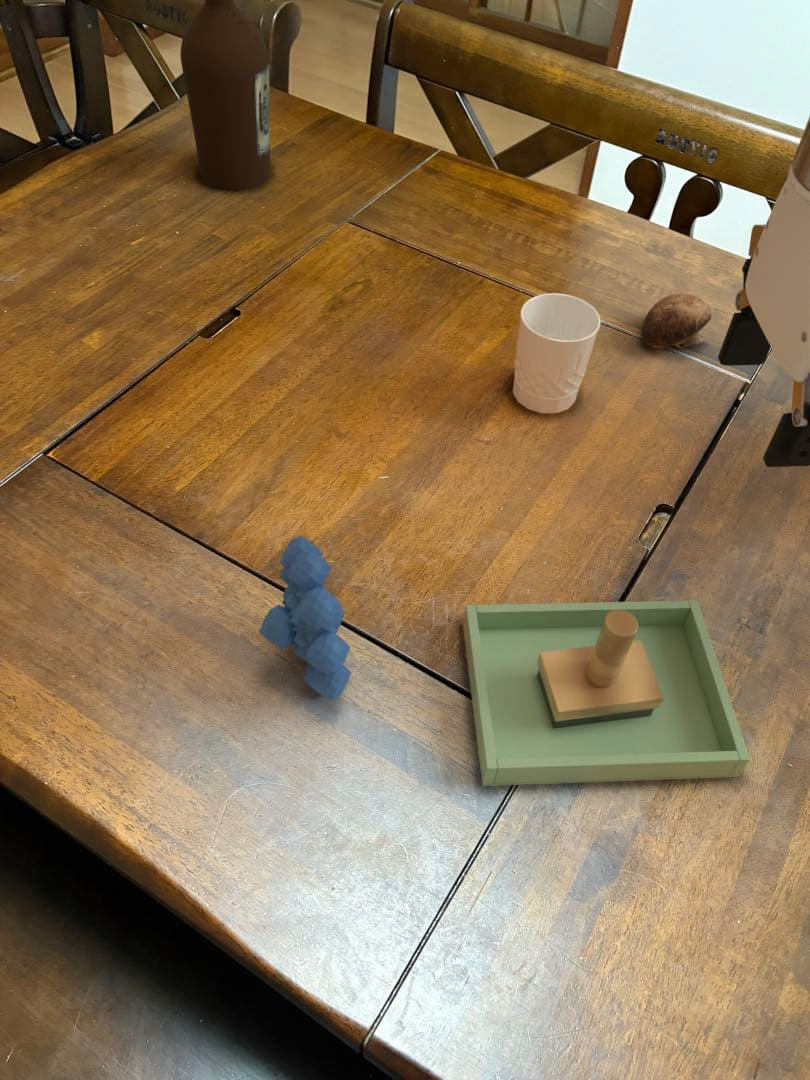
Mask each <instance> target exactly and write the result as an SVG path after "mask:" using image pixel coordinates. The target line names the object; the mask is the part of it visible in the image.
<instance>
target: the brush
mask: <svg viewBox="0 0 810 1080" xmlns="http://www.w3.org/2000/svg"><path fill="white" fill-rule="evenodd" d="M637 630H638V622H637V620H636V618H635V617H634V616H633V615H632V614H631V613H629V612H627V611H624V610H613V611H611V612H609V613H608V614H607V615H606V617H605V620H604V623H603V625H602V628H601V631H600V633H599V636H598V639H597V641H596V644H595V646H589V647H581V648H572V649H564V650H556V651H547V652H540V654H539V658H538V661H537V664H538V667H539V670H538V673H537V676H538V679H539V682H540V686H541V689H542V692H543V695H544V699H545V702H546V705H547V709H548V712H549V715H550V718H551V722H552V725H553V728H562V727H569V726H577V725H585V724H592V723H600V722H607V721H615V720H622V719H630V718H637V717H645V716H651V714H652V712H653V710H654V709H655V708H659V707H660V705H661V703H662V701H663V699H664V698H663V695H662V693H661V690H660V688H659V685H658V683H657V680H656V678H655V675H654V673H653V670H652V668H651V665H650V663H649V660H648V658H647V655H646V653H645V650H644V648H643V645H642V643H641V641H633V640H634V637H635V635H636V633H637Z"/></svg>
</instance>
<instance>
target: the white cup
mask: <svg viewBox="0 0 810 1080" xmlns="http://www.w3.org/2000/svg"><path fill="white" fill-rule="evenodd" d="M600 328H601V317H600V314H599V312H598V311H597V310H596V309H595V307H593V306H592V305H591V304H590V303H589V302H587V301H586V300H584V299H581V298H579V297H578V296H573V295H571V294H565V293H555V292H550V293H542V294H538V295H535V296H533V297H531V298H529V299H528V300H527V301H525V302H524V303H523V305H522V307H521V308H520V313H519V322H518V331H517V339H516V348H515V354H514V355H515V356H514V367H513V369H514V378H513V386H512V394H513V396H514V397H515V399H516V401H517V403H519V404H520V405H522V406H523V407H524V408H526V409H527V410H530V411H532V412H536V413H540V414H558V413H561V412H565V411H567V410H569V409H570V408H571V407H572V406H573V405H574V403H575V402H576V400H577V396H578V393H579V390H580V386H581V384H582V382H583V380H584V377H585V374H586V370H587V368H588V365H589V363H590V360H591V356H592V353H593V350H594V346H595V343H596V340H597V337H598V334H599V331H600Z"/></svg>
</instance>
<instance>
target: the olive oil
mask: <svg viewBox="0 0 810 1080" xmlns="http://www.w3.org/2000/svg"><path fill="white" fill-rule="evenodd" d="M180 63H181V69H182V74H183V75H182V76H183V80H184V85H185V90H186V96H187V101H188V108H189V113H190V117H191V118H190V119H191V124H192V130H193V136H194V142H195V148H196V155H197V161H198V168H199V174H200V178H201V180H202V181H203V182H204V183H205V184H206V185H208V186H209V187H211V188H213V189H216V190H220V191H227V192H244V191H249V190H253V189H257V188H259V187H261V186H263V185H264V184H266V183H267V182H268V181H269V180H270V178H271V175H272V173H271V172H272V171H271V170H272V169H271V166H272V165H271V164H272V163H271V138H270V136H271V135H270V134H271V132H270V129H271V128H270V59H269V53H268V48H267V44H266V42H265V40H264V36H263V35H262V33H261V31H260V29H258V27H257V26H256V25H255V23H253V22H252V20H250V18H249V17H247V15H246V14H245V13H244V12H243V11H242V10H241V9H240V8H239V7H238V6H237V5H236V3H235V1H234V0H204V4H203V6H202V7H201V8H200V10H199V11H198V13H197V14H196V15H195V16H194V18H193V19H192V21H190V23H189V24H188V26H187V28H186V29H185V31H184V33H183V35H182V39H181V45H180Z"/></svg>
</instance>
